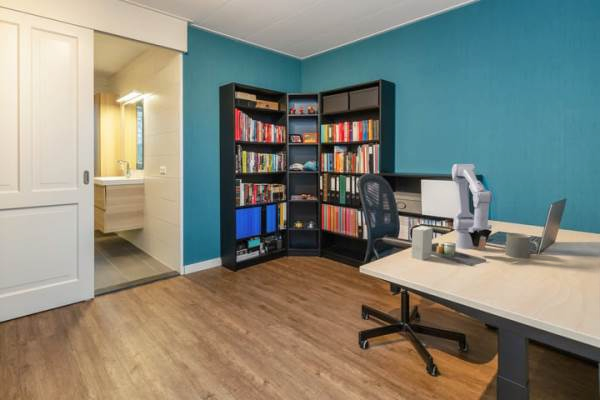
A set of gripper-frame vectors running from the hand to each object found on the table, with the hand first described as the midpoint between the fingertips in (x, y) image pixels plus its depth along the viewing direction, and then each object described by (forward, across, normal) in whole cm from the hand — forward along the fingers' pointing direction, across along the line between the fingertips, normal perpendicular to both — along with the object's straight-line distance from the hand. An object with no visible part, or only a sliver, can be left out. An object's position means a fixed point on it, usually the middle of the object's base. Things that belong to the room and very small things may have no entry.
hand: (479, 245), depth 156 cm
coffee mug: (+6, +19, -9) cm, 22 cm away
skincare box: (+6, -25, +12) cm, 28 cm away
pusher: (+6, -11, +11) cm, 17 cm away
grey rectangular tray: (+6, -11, +6) cm, 14 cm away
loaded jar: (+5, -11, +7) cm, 14 cm away
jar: (+2, 0, 0) cm, 2 cm away
